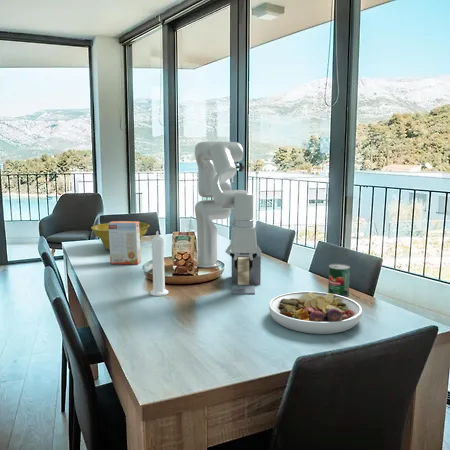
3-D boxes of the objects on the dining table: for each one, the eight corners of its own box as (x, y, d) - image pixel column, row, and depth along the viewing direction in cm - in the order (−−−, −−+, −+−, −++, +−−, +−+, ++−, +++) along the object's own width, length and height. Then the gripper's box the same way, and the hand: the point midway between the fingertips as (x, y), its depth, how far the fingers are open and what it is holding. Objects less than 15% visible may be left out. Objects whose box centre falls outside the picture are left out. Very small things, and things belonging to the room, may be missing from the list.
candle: (164, 296, 174) (163, 232, 170) (147, 295, 176) (145, 232, 172) (170, 291, 181) (169, 229, 177) (153, 290, 183) (151, 228, 178)
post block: (231, 284, 190) (231, 256, 188) (232, 276, 202) (232, 249, 200) (260, 284, 189) (260, 256, 187) (259, 276, 201) (259, 250, 199)
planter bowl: (102, 243, 275) (101, 221, 272) (155, 243, 273) (154, 221, 271) (83, 255, 243) (82, 230, 241) (143, 255, 242) (142, 230, 239)
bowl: (254, 310, 160) (254, 289, 158) (328, 300, 170) (328, 280, 169) (296, 344, 132) (297, 318, 131) (381, 329, 142) (382, 305, 141)
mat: (231, 294, 177) (231, 292, 177) (232, 287, 186) (232, 285, 186) (254, 294, 176) (254, 292, 176) (254, 287, 185) (254, 285, 185)
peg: (237, 284, 178) (237, 259, 177) (238, 281, 183) (238, 257, 181) (249, 284, 178) (249, 260, 177) (249, 281, 183) (249, 257, 181)
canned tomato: (349, 291, 180) (350, 264, 178) (348, 297, 172) (350, 269, 170) (328, 289, 182) (329, 263, 180) (327, 296, 174) (328, 268, 172)
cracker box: (141, 261, 228) (139, 220, 225) (137, 264, 222) (136, 222, 219) (114, 261, 230) (112, 220, 226) (110, 264, 224) (107, 222, 220)
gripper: (221, 225, 173) (221, 271, 176) (265, 225, 173) (265, 272, 176) (222, 222, 181) (222, 266, 184) (264, 222, 180) (264, 267, 183)
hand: (243, 268), depth 180 cm, fingers closed on peg, 4 cm apart
